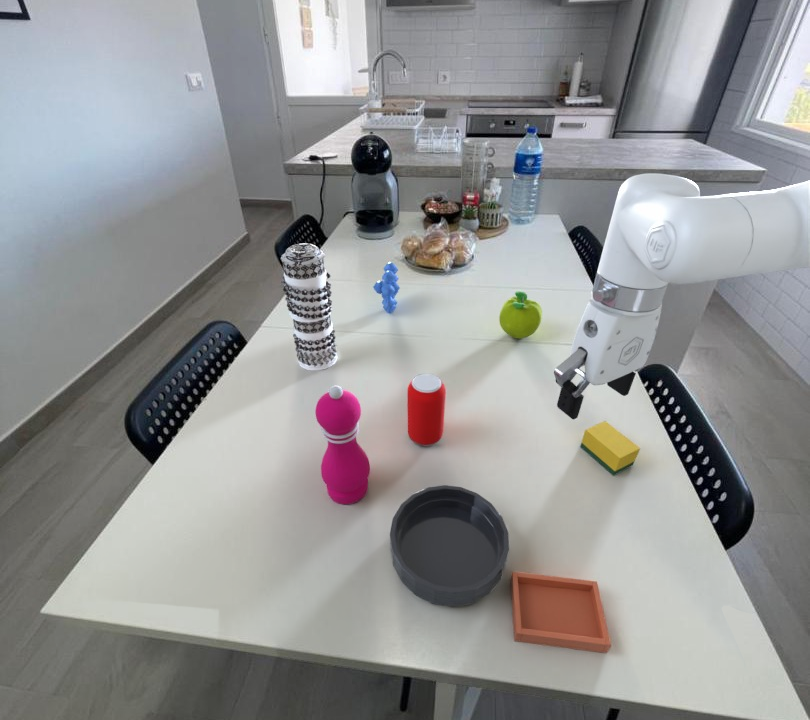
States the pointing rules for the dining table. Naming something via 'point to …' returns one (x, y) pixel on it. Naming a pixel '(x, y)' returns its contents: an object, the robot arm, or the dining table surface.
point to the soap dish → (558, 612)
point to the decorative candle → (309, 306)
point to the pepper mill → (342, 446)
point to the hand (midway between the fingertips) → (592, 401)
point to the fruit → (520, 316)
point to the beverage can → (426, 409)
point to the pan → (449, 545)
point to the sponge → (609, 447)
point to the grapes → (388, 287)
